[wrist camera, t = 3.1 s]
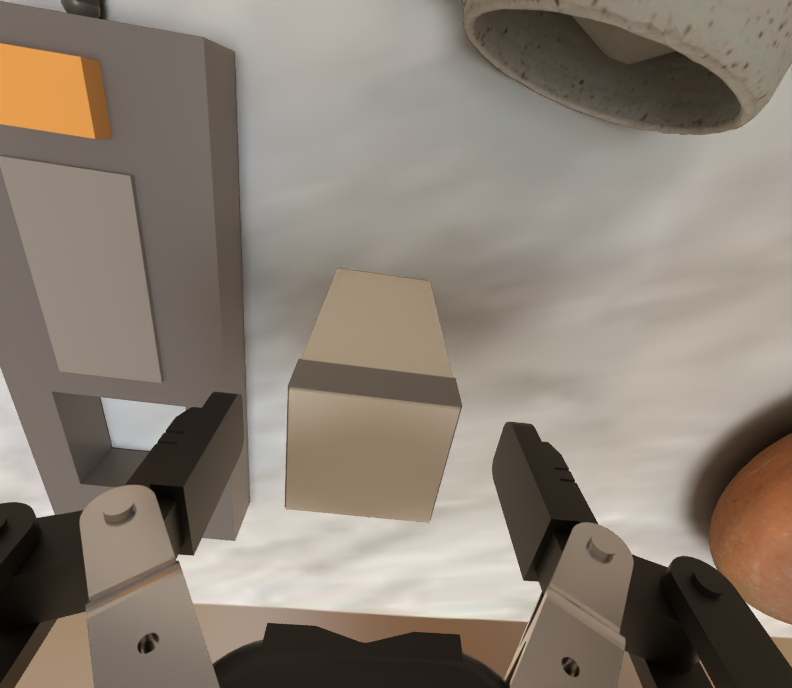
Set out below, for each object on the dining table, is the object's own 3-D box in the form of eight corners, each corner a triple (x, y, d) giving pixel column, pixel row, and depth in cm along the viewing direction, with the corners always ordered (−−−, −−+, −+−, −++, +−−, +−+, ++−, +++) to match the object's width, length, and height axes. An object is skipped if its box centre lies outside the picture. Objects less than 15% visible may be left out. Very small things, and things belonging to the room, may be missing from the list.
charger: (336, 267, 17) (287, 387, 9) (431, 280, 17) (462, 408, 10) (329, 352, 19) (283, 512, 11) (415, 362, 19) (429, 526, 11)
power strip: (-163, -372, 10) (-402, -586, 7) (223, -281, 10) (156, -440, 7) (90, 487, 23) (47, 538, 20) (249, 502, 24) (229, 554, 21)
